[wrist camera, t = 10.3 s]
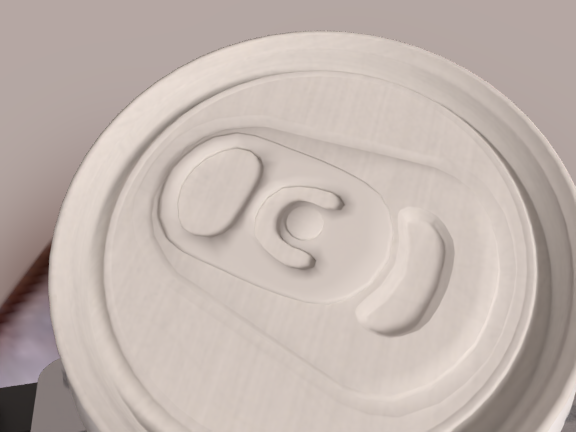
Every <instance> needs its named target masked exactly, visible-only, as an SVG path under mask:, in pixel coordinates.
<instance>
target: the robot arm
mask: <svg viewBox="0 0 576 432" xmlns="http://www.w3.org/2000/svg"><path fill="white" fill-rule="evenodd" d="M0 432H87V431H86V429H85V427H84V425H83V423H82V421H81V419H80V417H79V414H78V411H77V408H76V405H75V402H74V400H73V397H72V394H71V391H70V388H69V384H68V380H67V375H66V371H65V368H64V366H63V363H62V360H61V358H59V359H57V360H55V361H54V362H52V363H51V364H49V365H48V366H47V367H46V368H45V369H44V370H43V371H42V372H41V374H40V376H39V379H38V382H37V383H31V384H25V385H18V386H11V387H4V388H0ZM561 432H576V393H575V396H574V400H573V403H572V406H571V410H570V413H569V415H568V417H567V419H566V421H565V423H564V426H563V428H562V430H561Z"/></svg>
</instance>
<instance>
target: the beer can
mask: <svg viewBox="0 0 576 432" xmlns="http://www.w3.org/2000/svg"><path fill="white" fill-rule="evenodd" d="M48 292H49V304H50V317H51V322H52V326H53V331H54V336H55V340H56V345H57V349H58V352H59V354H60V357H61V360H62V363H63V366H64V368H65V371H66V375H67V380H68V384H69V388H70V391H71V394H72V397H73V400H74V402H75V405H76V408H77V411H78V414H79V417H80V419H81V421H82V423H83V425H84V427H85V429H86V431H87V432H561V430H562V428H563V426H564V423H565V421H566V419H567V417H568V415H569V413H570V410H571V406H572V403H573V400H574V396H575V393H576V186H575V184H574V183H573V181H572V179H571V177H570V175H569V173H568V171H567V169H566V167H565V165H564V164H563V162H562V160H561V159H560V157H559V156H558V154H557V153H556V151H555V150H554V149H553V147H552V145H551V144H550V143H549V141H548V140H547V138H546V137H545V136H544V135H543V134H542V132H541V131H540V130H539V129H538V128H537V127H536V125H535V124H534V123H533V122H532V121H531V119H530V118H529V117H528V116H527V115H525V114H524V113H523V112H522V111H521V110H520V109H519V108H518V107H517V106H516V105H515V104H514V103H513V102H512V101H511V100H510V99H509V98H507V97H506V96H505V95H503V94H502V93H501V92H500V91H498V90H497V89H496V88H494V87H493V86H492V85H491V84H489V83H488V82H486V81H485V80H483V79H481V78H480V77H478V76H477V75H475V74H474V73H472V72H471V71H469V70H467V69H466V68H464V67H462V66H460V65H458V64H456V63H454V62H452V61H450V60H448V59H446V58H444V57H442V56H440V55H437V54H435V53H432V52H429V51H427V50H425V49H422V48H420V47H417V46H413V45H410V44H406V43H403V42H400V41H397V40H393V39H388V38H383V37H378V36H374V35H368V34H360V33H352V32H342V31H339V32H338V31H303V32H290V33H282V34H275V35H268V36H264V37H259V38H255V39H250V40H246V41H242V42H239V43H236V44H233V45H229V46H227V47H223V48H221V49H218V50H216V51H213V52H211V53H208V54H206V55H203V56H201V57H199V58H197V59H195V60H193V61H191V62H189V63H187V64H185V65H183V66H181V67H179V68H177V69H176V70H174V71H173V72H171V73H169V74H168V75H166V76H165V77H163V78H161V79H160V80H158V81H157V82H155V83H154V84H153V85H151V86H150V87H149V88H147V89H146V90H145V91H144V92H142V93H141V94H140V95H138V96H137V97H136V98H135V99H134V100H133V101H132V102H131V103H130V104H129V105H127V106H126V107H125V108H124V109H123V110H122V111H121V112H120V113H119V114H118V115H117V116H116V117H115V118H114V119H113V120H112V122H111V123H110V124H109V125H108V126H107V127H106V128H105V130H104V131H103V132H102V133H101V134H100V136H99V137H98V138H97V140H96V141H95V143H94V144H93V146H92V147H91V148H90V150H89V151H88V153H87V154H86V155H85V157H84V159H83V161H82V162H81V164H80V166H79V168H78V170H77V171H76V173H75V175H74V177H73V179H72V181H71V183H70V186H69V188H68V190H67V193H66V195H65V198H64V200H63V202H62V205H61V208H60V212H59V215H58V219H57V222H56V226H55V229H54V234H53V240H52V246H51V252H50V257H49V278H48Z"/></svg>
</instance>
